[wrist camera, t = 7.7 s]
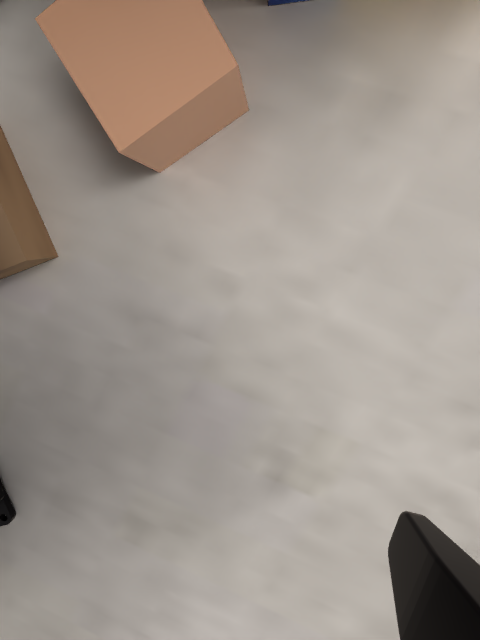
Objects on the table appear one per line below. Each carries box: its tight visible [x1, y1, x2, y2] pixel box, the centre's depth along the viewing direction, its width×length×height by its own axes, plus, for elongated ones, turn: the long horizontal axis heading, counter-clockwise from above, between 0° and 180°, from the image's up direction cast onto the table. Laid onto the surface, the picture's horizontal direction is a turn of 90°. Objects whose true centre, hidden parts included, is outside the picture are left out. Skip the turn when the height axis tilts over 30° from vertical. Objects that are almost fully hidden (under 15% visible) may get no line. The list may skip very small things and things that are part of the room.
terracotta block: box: [35, 0, 249, 173], centre depth 15 cm, size 5×5×5 cm
